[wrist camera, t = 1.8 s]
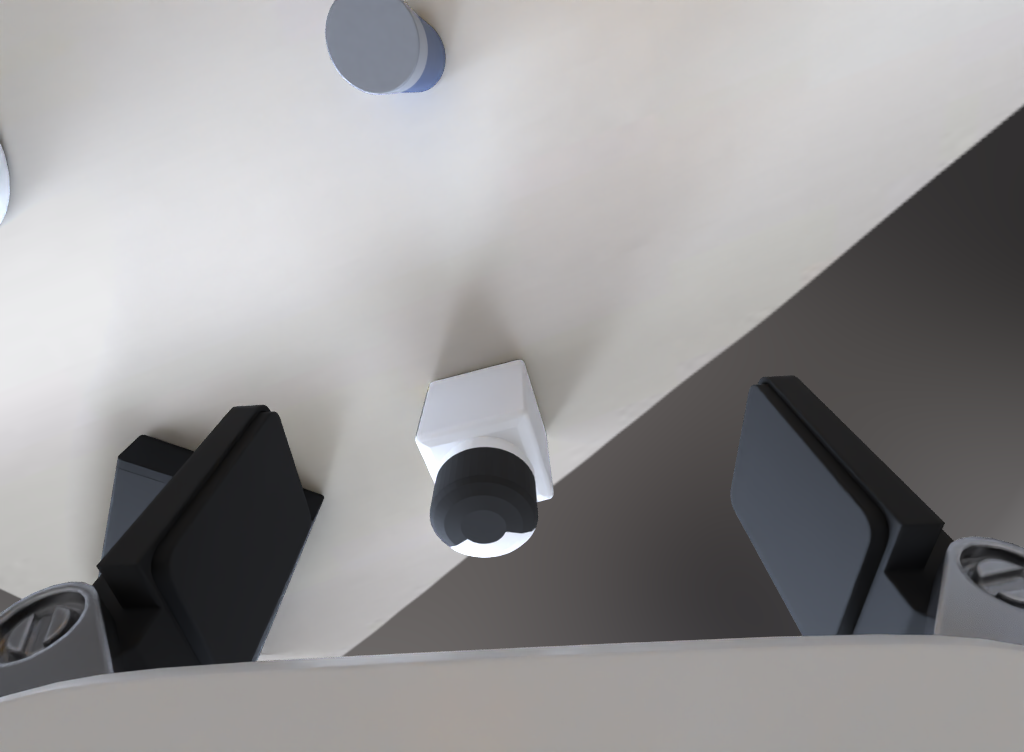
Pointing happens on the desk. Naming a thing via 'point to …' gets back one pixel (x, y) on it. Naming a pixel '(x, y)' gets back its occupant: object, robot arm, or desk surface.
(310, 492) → the external hard drive
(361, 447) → the desk surface
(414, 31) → the glue stick
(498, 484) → the medicine bottle
